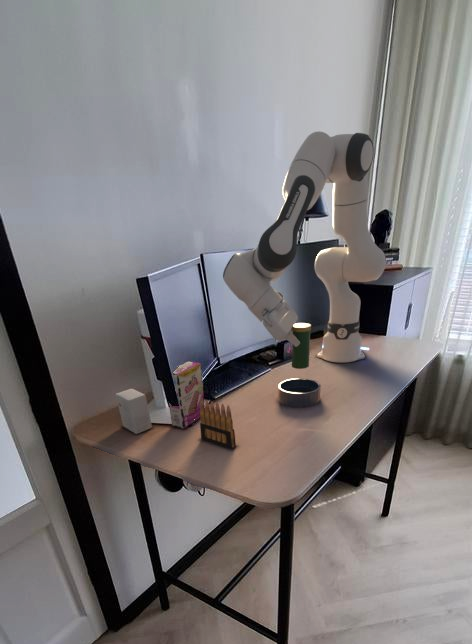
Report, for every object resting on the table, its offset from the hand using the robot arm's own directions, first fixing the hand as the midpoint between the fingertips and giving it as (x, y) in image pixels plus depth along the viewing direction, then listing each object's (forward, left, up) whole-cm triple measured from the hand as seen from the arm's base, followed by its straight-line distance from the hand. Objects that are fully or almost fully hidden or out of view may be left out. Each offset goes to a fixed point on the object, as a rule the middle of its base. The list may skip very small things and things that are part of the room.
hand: (300, 341), depth 119 cm
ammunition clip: (+32, -17, -19) cm, 41 cm away
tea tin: (0, 0, -7) cm, 7 cm away
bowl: (0, 0, -19) cm, 19 cm away
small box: (+27, -44, -19) cm, 55 cm away
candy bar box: (+20, -30, -19) cm, 41 cm away
